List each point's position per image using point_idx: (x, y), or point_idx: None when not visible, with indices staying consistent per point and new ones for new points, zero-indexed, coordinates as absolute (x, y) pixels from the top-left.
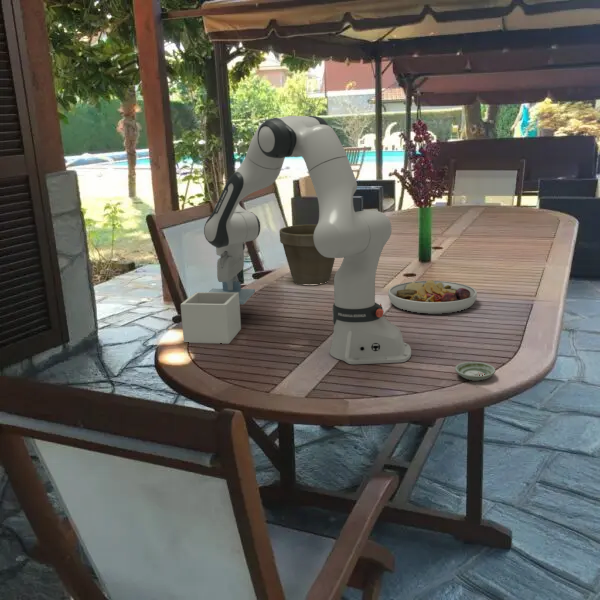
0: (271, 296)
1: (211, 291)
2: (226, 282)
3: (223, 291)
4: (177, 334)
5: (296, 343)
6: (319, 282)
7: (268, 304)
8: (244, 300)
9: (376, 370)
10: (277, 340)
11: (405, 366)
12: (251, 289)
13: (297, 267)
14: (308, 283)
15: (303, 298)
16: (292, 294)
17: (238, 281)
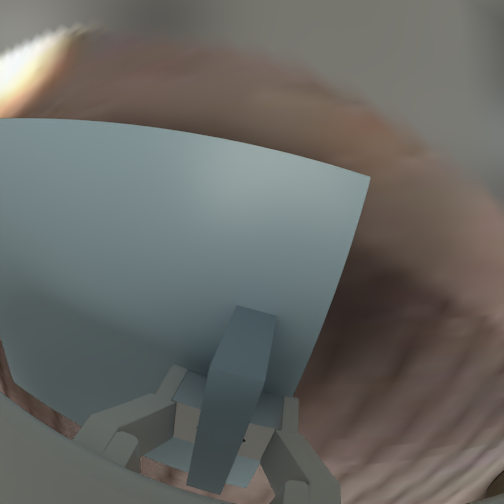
0: (478, 421)
1: (227, 169)
2: (113, 407)
3: (204, 309)
4: (18, 72)
5: (9, 396)
6: (487, 494)
7: (379, 428)
8: (25, 390)
9: None
10: (8, 373)
11: None
12: (238, 477)
13: None
14: (501, 478)
15: (394, 492)
16: (456, 465)
17: (222, 487)
